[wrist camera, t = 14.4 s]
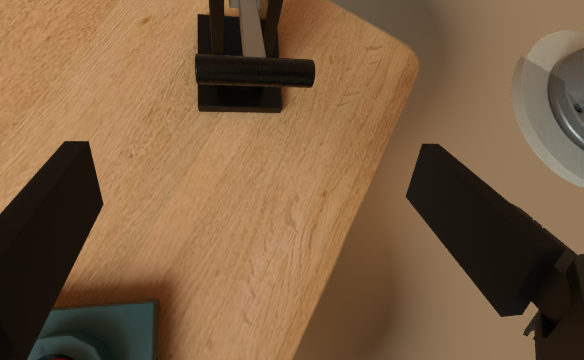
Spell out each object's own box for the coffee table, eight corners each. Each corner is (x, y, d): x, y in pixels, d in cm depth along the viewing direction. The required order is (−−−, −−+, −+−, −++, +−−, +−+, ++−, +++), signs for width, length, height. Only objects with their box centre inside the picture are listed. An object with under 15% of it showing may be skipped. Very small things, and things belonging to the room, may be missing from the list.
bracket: (280, 113, 35) (310, 31, 23) (198, 111, 33) (183, 23, 21) (275, 26, 37) (299, -90, 25) (198, 21, 36) (184, -106, 23)
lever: (310, 100, 19) (319, 61, 17) (197, 97, 18) (193, 55, 16) (281, -5, 27) (285, -39, 25) (203, -12, 26) (201, -48, 24)
